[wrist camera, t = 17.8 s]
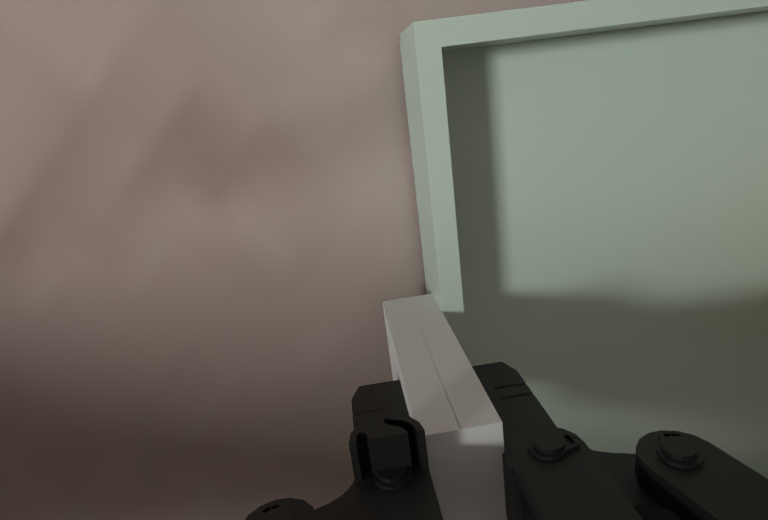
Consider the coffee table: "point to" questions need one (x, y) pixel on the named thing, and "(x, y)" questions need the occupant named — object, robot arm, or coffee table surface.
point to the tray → (603, 209)
